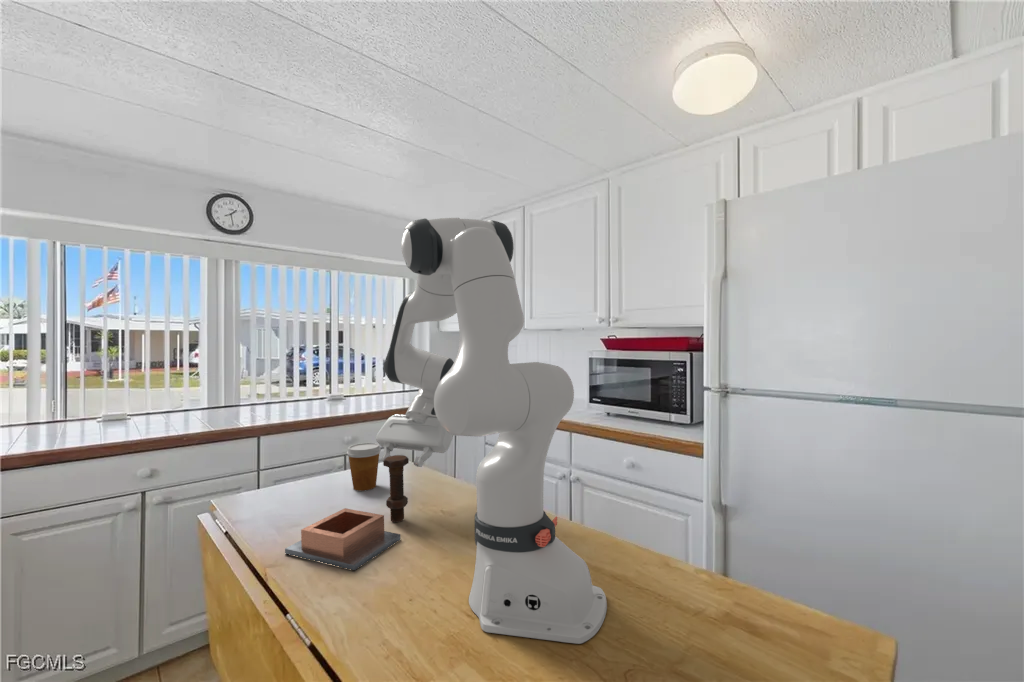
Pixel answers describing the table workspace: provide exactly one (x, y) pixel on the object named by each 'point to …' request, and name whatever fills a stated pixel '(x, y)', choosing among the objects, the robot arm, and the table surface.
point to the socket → (344, 539)
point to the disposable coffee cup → (364, 465)
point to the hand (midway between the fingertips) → (401, 463)
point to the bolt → (396, 486)
